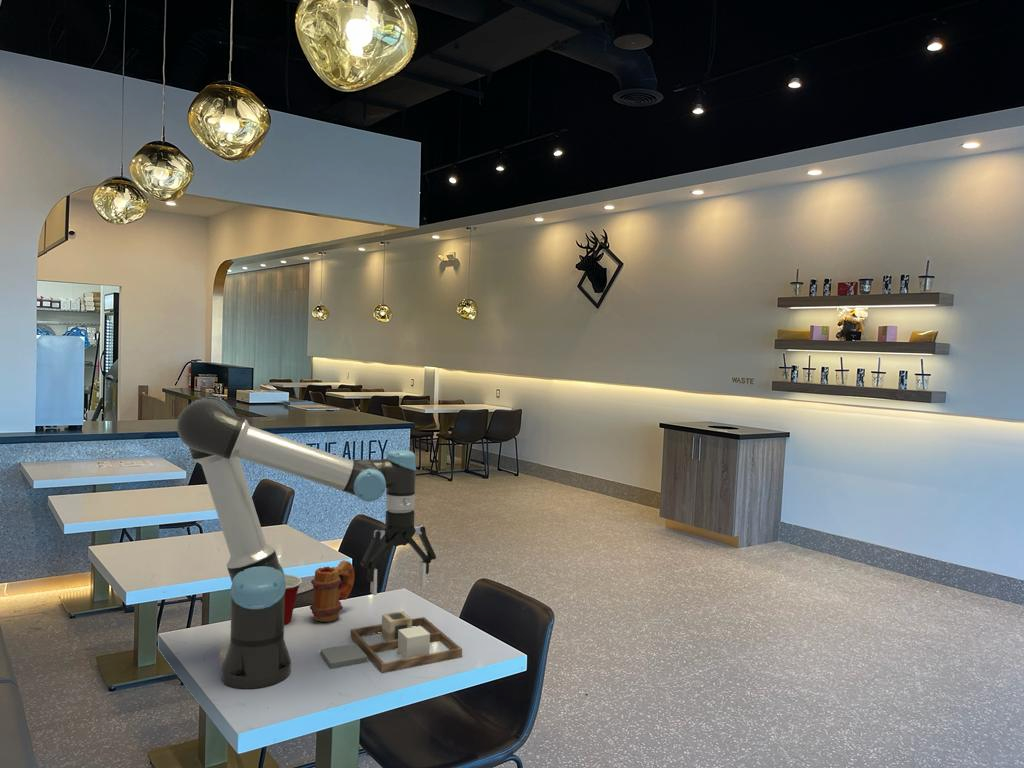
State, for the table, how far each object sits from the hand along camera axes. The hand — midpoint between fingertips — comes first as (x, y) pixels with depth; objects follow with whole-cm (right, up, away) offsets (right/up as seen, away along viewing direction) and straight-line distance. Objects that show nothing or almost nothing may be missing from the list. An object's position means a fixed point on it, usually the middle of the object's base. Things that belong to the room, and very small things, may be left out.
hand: (398, 589), depth 188 cm
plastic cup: (-34, -12, +9) cm, 37 cm away
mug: (-21, -12, +14) cm, 28 cm away
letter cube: (-1, -13, 0) cm, 13 cm away
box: (+2, -13, -5) cm, 14 cm away
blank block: (+5, -14, -10) cm, 17 cm away
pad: (-11, -13, -13) cm, 22 cm away
